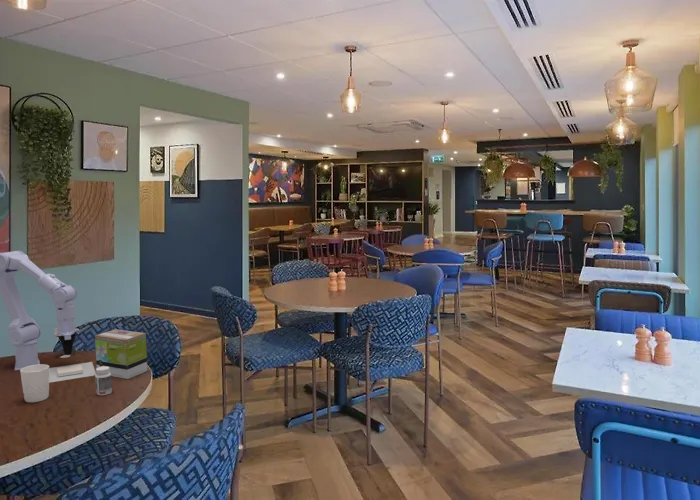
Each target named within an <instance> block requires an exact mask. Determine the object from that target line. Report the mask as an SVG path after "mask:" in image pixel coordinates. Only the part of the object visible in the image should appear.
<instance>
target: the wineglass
mask: <svg viewBox="0 0 700 500" xmlns="http://www.w3.org/2000/svg"><path fill="white" fill-rule="evenodd" d="M53 330H54V333H53V334H54V337H55V338H56V339H57V340H59V337H58V336H62V335H60V334H58V333H57V331H58V326H56V327H54V328H53ZM59 341H60V340H59ZM71 356H72V354H71V355H65V354H64V355H62V356H60V358H61V359H62V358H63V359H65V358H69V357H71Z"/></svg>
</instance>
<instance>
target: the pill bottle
mask: <svg viewBox="0 0 700 500" xmlns="http://www.w3.org/2000/svg"><path fill="white" fill-rule="evenodd" d="M95 372H96V375H95V376H94V377H95V378H94V379H95V392H96V395H97V396H106V395H110V394H112V393H113V383H112V382H113V381H112V376H111V373H110V369H109V367H107V366H103V367H99V368H97V367H96V368H95Z"/></svg>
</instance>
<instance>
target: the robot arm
mask: <svg viewBox="0 0 700 500" xmlns="http://www.w3.org/2000/svg"><path fill="white" fill-rule="evenodd" d="M20 270H21V271H22V272H24V273H25V274H27V275H29V276H30V277H31V278H33V279H35V280H36V281H38V287H40V288H41V289H43V290H44V291H46V292H47V293H48V294H50V295H51V299H52V301H53V302H54V304H55V307H56V317H57V318H56V320H57V327H58V331H57V333H58V334H60V335H62V336H58V337H59V342H60V343H61V345H62V349H63V353H64V355H72V353H73V346H74V342H75V339H76V338H77V335H76V332H79V331H80V328H76V318H75V317H76V316H75V315H76V314H75V301H74V300H75V299H77V295H78V293H77V290H76V288H75V287H74V286H73V285H72V284H66V283H64V282H63V281H61V280H59V279H58V278H57V277H56V275H55V274H54V273H45V272H44V270H42V269H41V268H40V267H38V266H37V265H36V264H35V263H34V262H32V261H31V259H29V255H27V254H26V253H25V252H23V251H21V250H19V249H18V250H14V251H8V252H7V251H6V252H0V295H1V298H2V300H3V302H4V306H5V308H6V310H7V314H8V315H9V318H10V320H11V322H10V324H9V325H8V327H7V331H8V338H9V342H10V343H11V344H12V346H13V347H14V354H15V355H14V356H15V363H14V371H20V370H21V369H22V368H24V367H27V366H31V365H38V364H41V363H40V359H39V352H38V342H39V338H40V337H41V335H42V329H41V327H40V326H39V325H38V324H37V322H36V320H35V319H34V318H33V317H30V316H29V315H28V312H27V310H26V307H25V305H24V302H23V299H22V297H21V295H20V292H19V289H18V286H17V284H16V281H15V276H16V273H18V271H20Z"/></svg>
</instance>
